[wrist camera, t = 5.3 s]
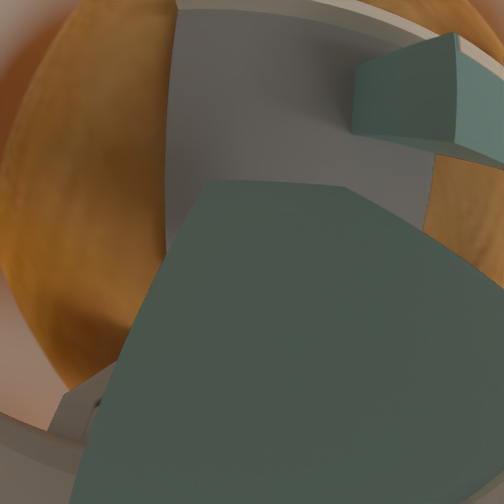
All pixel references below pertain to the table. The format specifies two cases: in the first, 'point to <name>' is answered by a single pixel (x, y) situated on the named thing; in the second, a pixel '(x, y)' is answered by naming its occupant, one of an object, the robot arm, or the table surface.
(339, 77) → the shelf board
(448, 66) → the carton
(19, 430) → the robot arm
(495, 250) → the table surface
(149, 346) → the carton
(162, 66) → the table surface
